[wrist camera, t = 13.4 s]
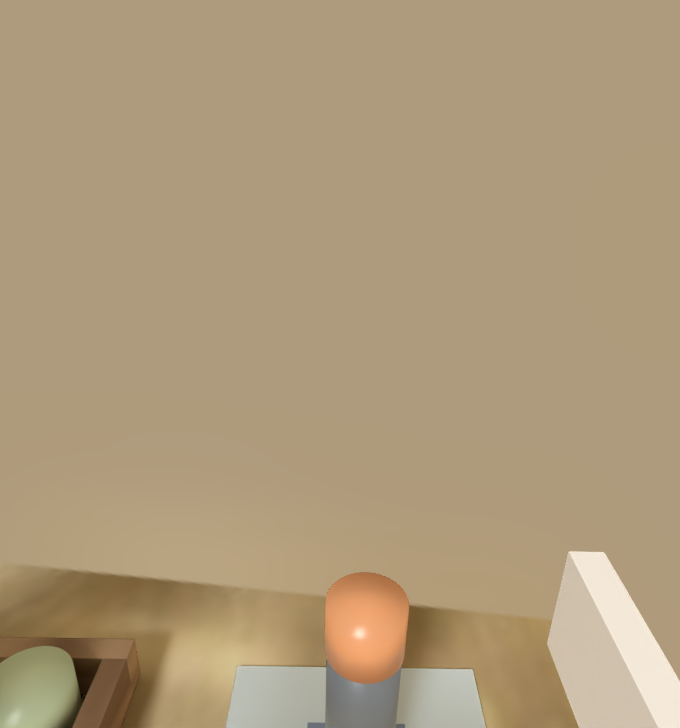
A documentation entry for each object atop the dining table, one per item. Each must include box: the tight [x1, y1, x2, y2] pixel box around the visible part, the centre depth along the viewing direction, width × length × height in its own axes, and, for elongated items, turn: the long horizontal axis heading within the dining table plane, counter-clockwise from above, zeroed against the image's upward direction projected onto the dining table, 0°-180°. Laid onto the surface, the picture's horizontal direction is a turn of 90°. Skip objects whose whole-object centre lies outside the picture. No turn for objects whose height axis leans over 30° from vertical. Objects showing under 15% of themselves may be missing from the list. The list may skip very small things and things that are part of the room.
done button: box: [0, 646, 82, 728], centre depth 34 cm, size 5×5×3 cm
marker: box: [325, 572, 409, 728], centre depth 31 cm, size 4×4×13 cm
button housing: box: [0, 637, 140, 728], centre depth 35 cm, size 9×9×3 cm
